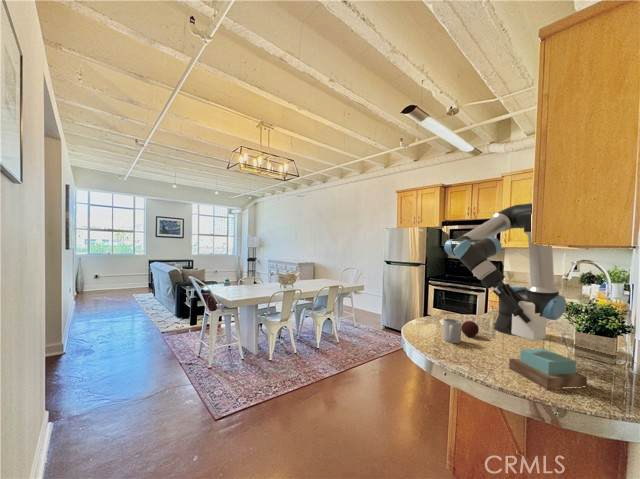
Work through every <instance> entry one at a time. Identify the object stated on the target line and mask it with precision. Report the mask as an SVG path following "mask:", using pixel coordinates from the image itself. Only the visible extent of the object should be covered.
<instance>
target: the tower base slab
mask: <svg viewBox="0 0 640 479" xmlns="http://www.w3.org/2000/svg"><path fill="white" fill-rule="evenodd" d="M508 360H509V362H508V363H509V366H508V367H509V368H508V369H509V370H511V371H513V372H515V373H517V374H518V375H520V376H521V377H523V378H525V379H528V381H531V382H532V383H534V384H536V385H537V386H540V387H542V388H543V389H545V390H546V391H549V390H548V389H554V390H557V389H556V388H563V387H582V386H587V384H588V376H586V375H584V374H581V373H579V372H577V371H576V374H559V375H547V374H545V373H543V372H541V371H539V370H537V369H535V368H533V367H531V366H529V365H527V364H525V363H523V362H521V361H520V358H508ZM587 387H588V386H587Z"/></svg>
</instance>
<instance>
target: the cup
mask: <svg viewBox="0 0 640 479" xmlns="http://www.w3.org/2000/svg"><path fill="white" fill-rule="evenodd" d="M461 326H462V321H460V320H458V319H455V318H444V319H443V326H442V329H443V330H442V339H443V340H444V342H446V343H450V344H460V343H461V341H462V330H461Z"/></svg>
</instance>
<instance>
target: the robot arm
mask: <svg viewBox="0 0 640 479" xmlns="http://www.w3.org/2000/svg"><path fill="white" fill-rule="evenodd" d="M532 203H533V202H529V203H524V204H515V205H511V206H509V207H506V208H504V209H502V210H500V211H498V212H496V213H494V214H493V215H492V216H491V218H490V219H489V220H487V221H484V222H483V223H482V224H480V225H478V226H477V227H475V228H473V229H471V230H470V231H468V232H467V233H465V234H463V235H461V236H459V237H458V238H452V239H447V240H446V242H445V243H444V247H443V249H444V252H445V253H446V254H447V255H449V256H454V257H457V258H458V260H460V262H461V263H463V265H464V266H465V267H466V268H467V269H468V270H469V271H470V272H471V273H472V274H473V275H472V276H473V277H474V278H475V277H476V278H477V279H478V280H480V283H481V284H482V285H483V286H484V287H485V288H486V289H487V290H488V289H491V288H493V289H492V292H493V293H494V294H495V295H496V297H498V314H497V316H496V319H495V322H494V324H493V328H494V330H495V331H498V332H500V333H503V334H506V335H507V334H508V335H511V336H514V335H513V334H512V333H511V330H512V314H513V316H515V317H516V316H517V315H518V317H519V318H520V319H521V320H522V321H523V322H524V323H525V324H526V325H527V326H528V327H529V328H530V329H531V330H532V331H533V332H534V333H535V332H537V331H538V330H540V329H542V328H541V327H540V326H539V325H538V324H537V323H536V322H535V321H534V320H533V319H532V317H531V316H530V315H529V314H528V313H527V312H526V311H523V309H522V308H521V307H520V306H519V305H518V302H519V301H532V302H536V303H538V304H540V315H539V316H541V317H545V318H546V320H550V321H556V320H559V319H561V317H562V316H563V315H564V313H565V311H566V306H567V300H566V298H565V297H564V296H563V295H560V292H559V289H558V288H556V286H555V276H554V256H553V254H554V253H553V245H552V246H543V245H537V244H534V243H531V214H532ZM511 229H512V230H513V229H523V233H525V234H526V235H527V238H528V254H529V255H528V257H529V258H528V259H529V279H530V285H529V286H528V287H526V286H511V285H510V284H509V283H505V282H503V280H505V278H506V275H504V274H503V273H502V272H501V271H500V270H499V269H497V266H495V265H494V263H493V262H492V261H490V260H489V258H491V257H493V256H496V255H497V254H499V253H500V252H501V250H502V242H501V241H500V240H499V239H498V238H496V235H498V234H499V233H501V232H506V231H509V230H511ZM494 236H495V237H494Z"/></svg>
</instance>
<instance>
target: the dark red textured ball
mask: <svg viewBox="0 0 640 479" xmlns="http://www.w3.org/2000/svg"><path fill="white" fill-rule="evenodd" d="M479 330H480V329H479V326H478V324H477V323H476V322H475V321H471V320H467V321H464V322H463V323H461V333H462V334H464V335H466V336H468V337H474V336H476V335H477V334H479V332H480V331H479Z"/></svg>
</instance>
